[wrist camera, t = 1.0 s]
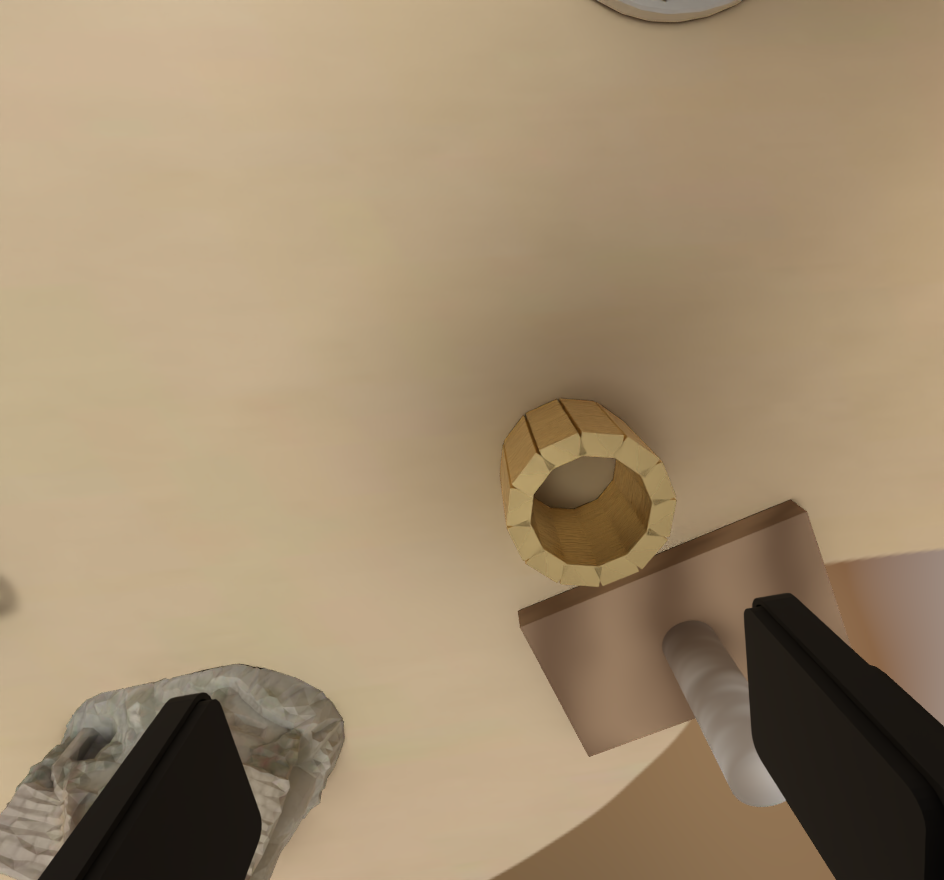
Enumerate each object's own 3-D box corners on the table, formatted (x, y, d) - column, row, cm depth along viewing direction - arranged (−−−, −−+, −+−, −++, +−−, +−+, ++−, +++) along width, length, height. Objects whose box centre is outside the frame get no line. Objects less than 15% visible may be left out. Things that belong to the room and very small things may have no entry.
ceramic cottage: (380, 725, 34) (283, 1053, 20) (252, 870, 39) (97, 1221, 24) (160, 584, 32) (-121, 833, 18) (53, 754, 37) (-240, 1059, 23)
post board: (790, 499, 30) (940, 609, 20) (838, 642, 33) (990, 798, 23) (517, 611, 32) (537, 758, 22) (584, 736, 35) (626, 916, 25)
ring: (605, 376, 28) (639, 405, 22) (653, 493, 30) (696, 547, 24) (478, 434, 29) (480, 476, 23) (533, 544, 31) (547, 608, 25)
